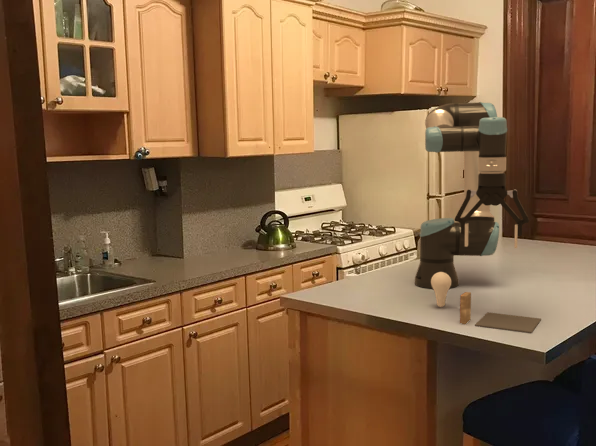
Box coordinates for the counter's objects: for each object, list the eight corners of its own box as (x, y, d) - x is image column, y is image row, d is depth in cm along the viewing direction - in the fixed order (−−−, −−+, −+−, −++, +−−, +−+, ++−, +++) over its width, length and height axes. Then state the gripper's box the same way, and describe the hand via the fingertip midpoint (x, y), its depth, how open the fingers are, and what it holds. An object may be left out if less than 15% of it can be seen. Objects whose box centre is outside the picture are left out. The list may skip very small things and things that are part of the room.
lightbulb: (448, 304, 200) (448, 269, 198) (453, 309, 194) (453, 274, 192) (428, 304, 199) (428, 270, 198) (433, 310, 193) (433, 274, 192)
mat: (474, 325, 176) (474, 324, 176) (487, 313, 188) (487, 312, 188) (531, 333, 169) (531, 331, 169) (541, 319, 181) (541, 318, 181)
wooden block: (459, 323, 179) (460, 295, 178) (465, 319, 183) (465, 291, 182) (465, 324, 178) (466, 296, 177) (470, 319, 182) (470, 292, 181)
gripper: (445, 173, 181) (444, 247, 184) (539, 172, 173) (537, 250, 175) (448, 172, 188) (448, 243, 191) (538, 171, 180) (537, 246, 182)
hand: (490, 246), depth 183 cm, fingers open, 13 cm apart
